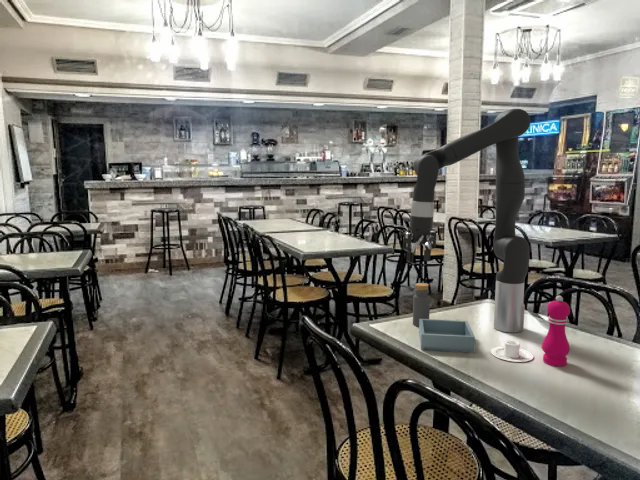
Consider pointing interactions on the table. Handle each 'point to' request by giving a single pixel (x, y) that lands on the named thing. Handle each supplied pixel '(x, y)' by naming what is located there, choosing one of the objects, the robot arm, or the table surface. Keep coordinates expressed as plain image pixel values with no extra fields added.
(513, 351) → the candle holder
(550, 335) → the pepper mill
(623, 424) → the table surface
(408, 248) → the robot arm
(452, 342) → the tote
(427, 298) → the bottle
